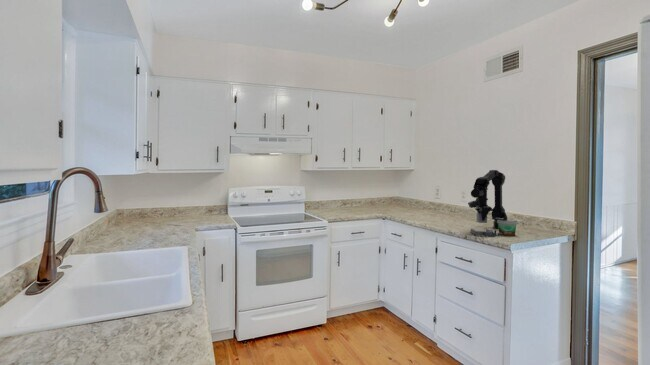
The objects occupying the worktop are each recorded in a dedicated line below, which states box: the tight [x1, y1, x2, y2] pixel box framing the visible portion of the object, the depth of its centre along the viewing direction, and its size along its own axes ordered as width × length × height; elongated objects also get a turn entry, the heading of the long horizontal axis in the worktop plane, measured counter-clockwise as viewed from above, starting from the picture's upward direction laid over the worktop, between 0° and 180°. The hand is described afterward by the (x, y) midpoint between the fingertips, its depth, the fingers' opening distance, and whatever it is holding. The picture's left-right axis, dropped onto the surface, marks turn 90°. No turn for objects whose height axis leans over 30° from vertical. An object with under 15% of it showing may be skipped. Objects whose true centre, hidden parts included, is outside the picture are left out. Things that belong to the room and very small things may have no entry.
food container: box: [497, 219, 519, 237], centre depth 204 cm, size 12×6×10 cm, turn 80°
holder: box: [470, 228, 494, 236], centre depth 210 cm, size 11×10×2 cm
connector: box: [476, 212, 488, 224], centre depth 210 cm, size 5×5×6 cm
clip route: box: [481, 229, 501, 238], centre depth 206 cm, size 11×11×2 cm
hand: (481, 219), depth 210 cm, fingers closed on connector, 5 cm apart
